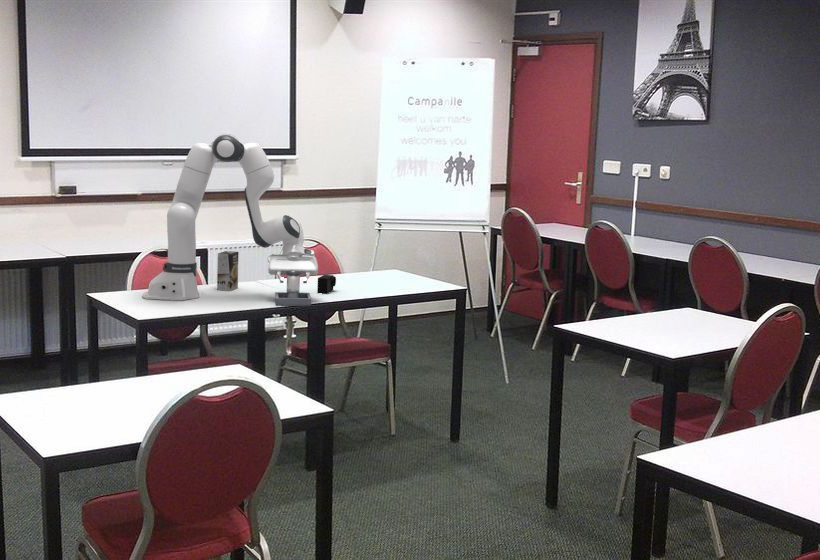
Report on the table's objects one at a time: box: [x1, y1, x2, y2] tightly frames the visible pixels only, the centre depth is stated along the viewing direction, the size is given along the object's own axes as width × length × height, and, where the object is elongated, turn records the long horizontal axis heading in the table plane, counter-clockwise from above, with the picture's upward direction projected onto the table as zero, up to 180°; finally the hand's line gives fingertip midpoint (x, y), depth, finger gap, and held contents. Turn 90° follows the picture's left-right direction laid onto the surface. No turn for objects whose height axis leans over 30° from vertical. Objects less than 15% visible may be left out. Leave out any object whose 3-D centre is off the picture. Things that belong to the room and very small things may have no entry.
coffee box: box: [216, 250, 239, 292], centre depth 414 cm, size 9×6×16 cm
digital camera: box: [316, 274, 337, 295], centre depth 418 cm, size 10×5×7 cm, turn 169°
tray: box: [274, 291, 312, 307], centre depth 390 cm, size 14×14×3 cm
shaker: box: [286, 270, 301, 298], centre depth 389 cm, size 5×5×13 cm
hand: (293, 282), depth 388 cm, fingers open, 8 cm apart
